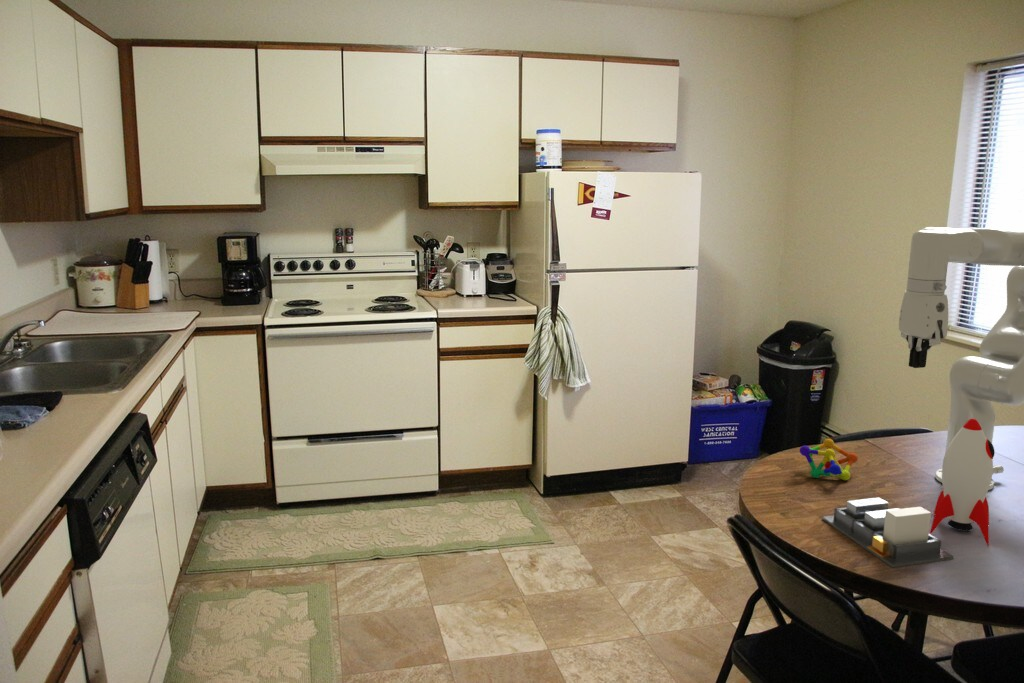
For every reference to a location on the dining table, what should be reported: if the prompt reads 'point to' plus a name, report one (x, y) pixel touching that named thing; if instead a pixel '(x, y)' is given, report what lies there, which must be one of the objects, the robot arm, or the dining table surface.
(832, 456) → the decorative model
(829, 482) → the dining table surface
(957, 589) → the dining table surface
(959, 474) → the rocket
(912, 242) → the robot arm
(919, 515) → the block
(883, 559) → the rack
